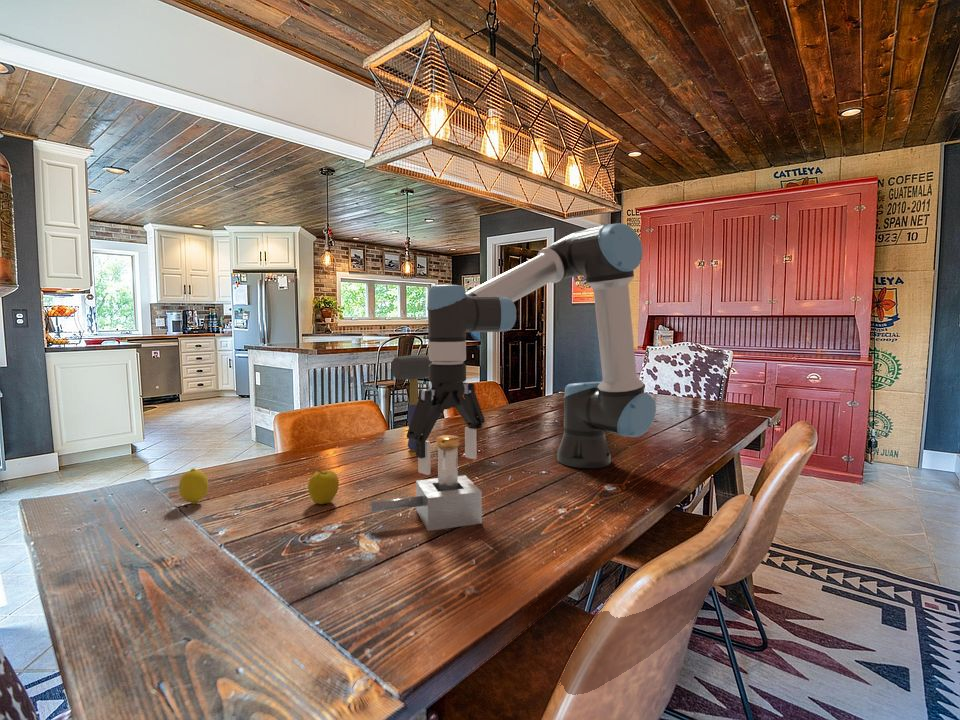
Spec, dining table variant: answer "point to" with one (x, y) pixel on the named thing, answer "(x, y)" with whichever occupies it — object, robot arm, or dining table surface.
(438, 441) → the grey gold cylinder
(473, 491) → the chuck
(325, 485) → the apple
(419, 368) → the rubber mallet
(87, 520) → the dining table surface
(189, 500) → the lemon
